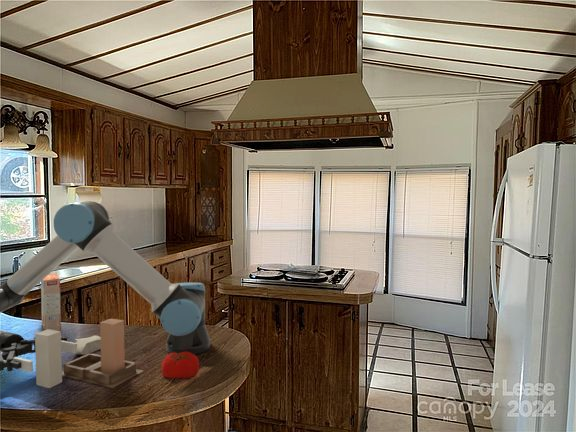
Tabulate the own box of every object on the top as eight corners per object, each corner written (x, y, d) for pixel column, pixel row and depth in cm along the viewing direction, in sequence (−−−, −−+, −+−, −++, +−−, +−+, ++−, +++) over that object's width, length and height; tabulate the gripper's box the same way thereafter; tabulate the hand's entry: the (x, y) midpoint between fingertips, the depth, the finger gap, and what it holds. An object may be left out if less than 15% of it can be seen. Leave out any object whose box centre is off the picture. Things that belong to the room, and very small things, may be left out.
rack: (55, 378, 123) (55, 365, 123) (89, 363, 134) (89, 351, 134) (112, 393, 114) (112, 379, 114) (143, 375, 125) (143, 362, 125)
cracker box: (62, 331, 164) (60, 278, 163) (44, 334, 160) (42, 280, 159) (58, 321, 175) (56, 272, 174) (41, 324, 172) (39, 274, 171)
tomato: (160, 372, 128) (160, 351, 127) (196, 367, 132) (196, 347, 131) (162, 386, 119) (162, 364, 118) (201, 380, 123) (201, 358, 122)
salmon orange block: (111, 371, 125) (110, 318, 124) (124, 373, 123) (124, 320, 122) (101, 376, 121) (100, 322, 120) (114, 379, 119) (113, 324, 118)
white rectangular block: (49, 383, 120) (48, 329, 119) (62, 387, 118) (60, 331, 117) (36, 390, 116) (34, 333, 115) (49, 393, 114) (47, 336, 113)
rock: (47, 358, 139) (78, 362, 132) (46, 344, 139) (77, 347, 132) (100, 342, 158) (130, 344, 152) (100, 330, 158) (129, 332, 152)
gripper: (43, 343, 135) (92, 354, 127) (-43, 374, 112) (10, 390, 104) (42, 320, 135) (91, 329, 126) (-44, 347, 112) (9, 360, 103)
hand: (55, 357), depth 115 cm, fingers open, 13 cm apart
